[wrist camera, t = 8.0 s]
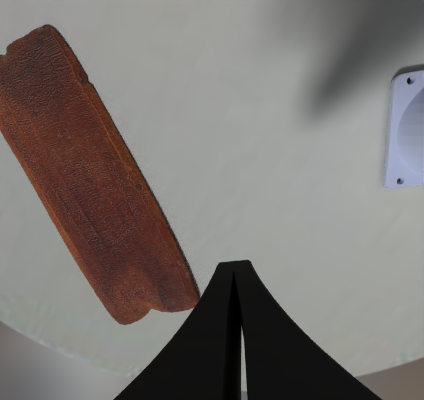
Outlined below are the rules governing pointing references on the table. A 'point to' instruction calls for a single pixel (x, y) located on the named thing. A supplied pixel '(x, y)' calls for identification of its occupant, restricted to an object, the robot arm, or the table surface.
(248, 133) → the table surface
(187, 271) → the wooden tablet
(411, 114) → the robot arm
